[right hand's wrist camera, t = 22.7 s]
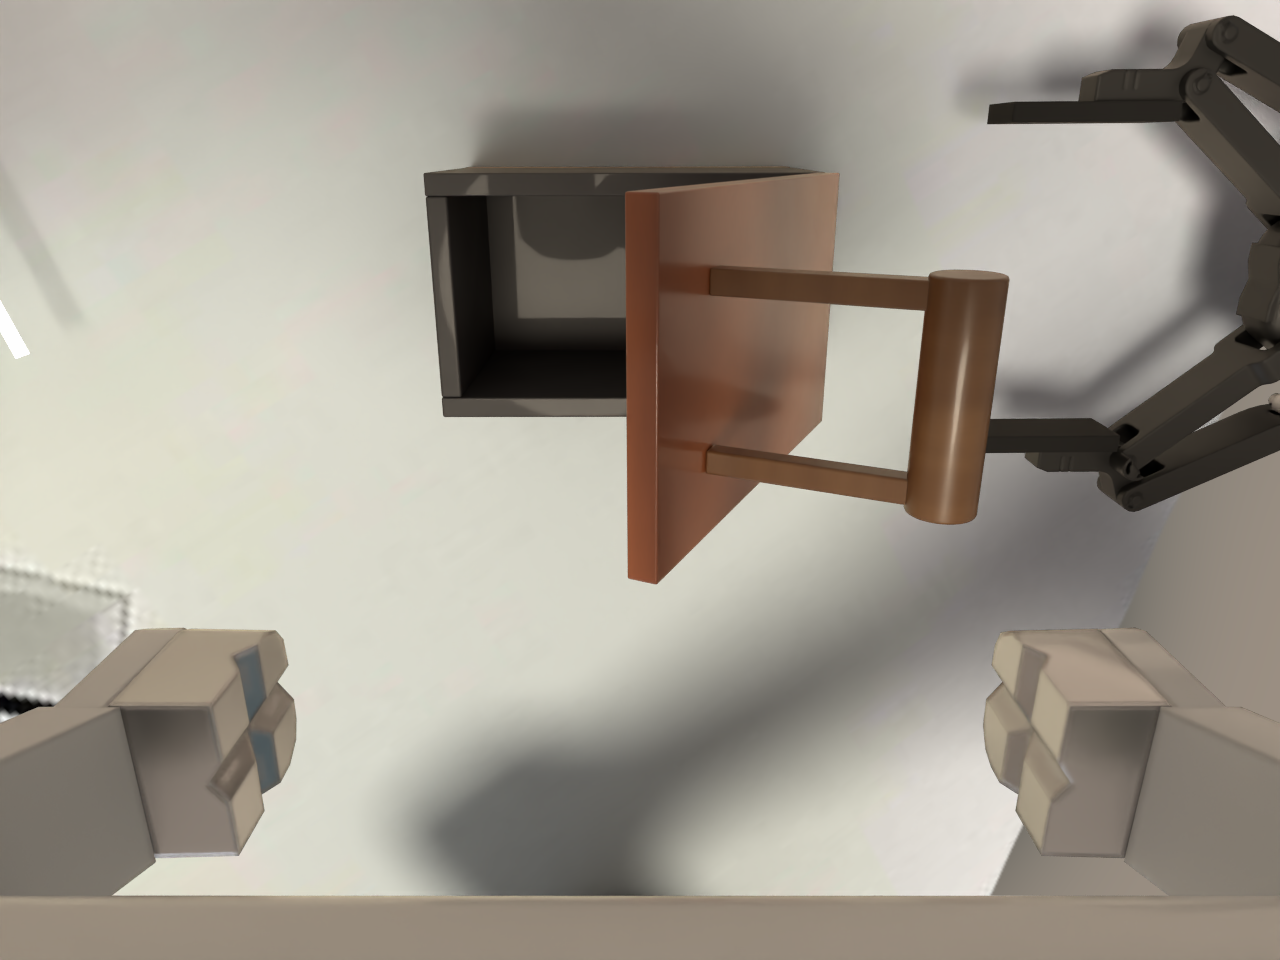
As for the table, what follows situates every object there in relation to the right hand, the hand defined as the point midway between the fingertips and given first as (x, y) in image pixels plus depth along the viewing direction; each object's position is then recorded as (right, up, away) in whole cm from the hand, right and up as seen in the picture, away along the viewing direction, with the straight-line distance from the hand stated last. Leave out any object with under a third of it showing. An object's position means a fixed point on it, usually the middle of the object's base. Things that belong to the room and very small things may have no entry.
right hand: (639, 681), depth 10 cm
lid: (+3, +7, +18) cm, 20 cm away
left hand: (+14, +11, +28) cm, 34 cm away
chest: (-1, +13, +35) cm, 37 cm away
